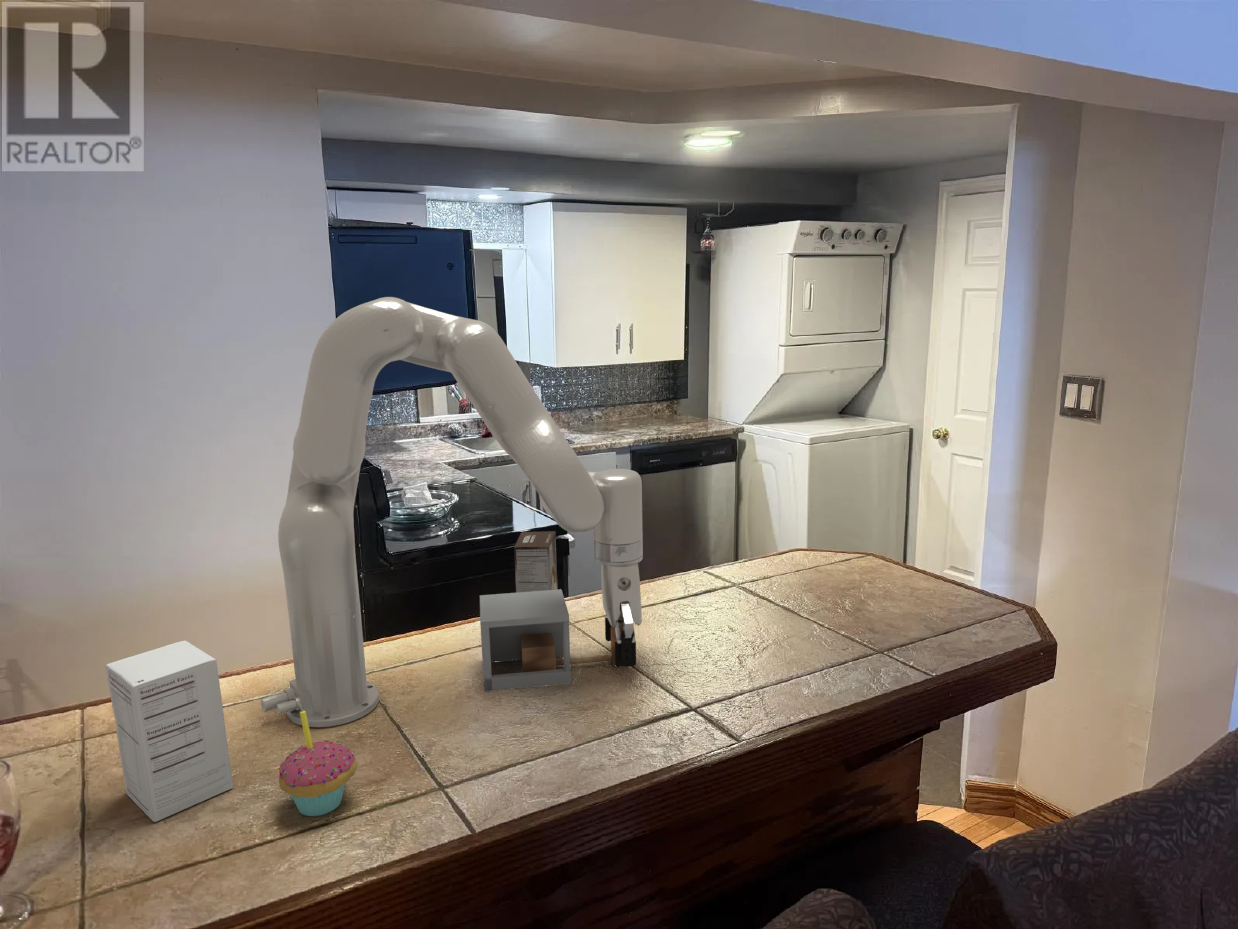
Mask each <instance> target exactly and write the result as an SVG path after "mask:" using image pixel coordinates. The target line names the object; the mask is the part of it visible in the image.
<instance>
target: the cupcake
mask: <svg viewBox="0 0 1238 929" xmlns="http://www.w3.org/2000/svg"><path fill="white" fill-rule="evenodd" d="M300 708H301V712H300V717H301V722H302V725H301V726H302V730H303V731H302V732H303V735H304V736H303V737H304V740H305V744H304V745H301V746H300V747H297V748H296V749H295V750H294V751H292V752H290V753H289V754H288V756H286V757H285V758H284V759H283V761H282V763H281V764H279V774H278V775H279V776H278V784H279V785H278V786H279V788H280V790H281V791H283V792H284V793H286V794H288V795H289V796H290V797H291V798H292V800H293V802H294V804H295V805H296V807H297V810H298V812H299V813H300V814H302V815H303V816H305V817H306V816H307V817H318V816H319V817H320V816H323V815H327V814H329V813H330V812H332V811H334V810H335V809H337V808H338V807H339V806H340V804H341V802H342V799H343V794H344V789H345V787H346V783H347V782H348V780H349V779H350V778H352V777H353V776H354V775H355V774H356V771H357V766H358V761H357V758H356V756H355V752H354V751H352V750H350V748H349V747H348V746H344V745H343V744H342V743H338V742H337V741H330V740H324V741H319V740H318V741H314V742H313V741H312V736H311V732H310V731H311V730H310V727H309V725H308V721H307V716H306V711H303V709H302V705H300Z"/></svg>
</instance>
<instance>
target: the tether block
mask: <svg viewBox="0 0 1238 929" xmlns="http://www.w3.org/2000/svg"><path fill="white" fill-rule="evenodd" d="M622 631H624V629H623V628H620V635H621V632H622ZM520 642H521V660H520V662H521V671H522V672H521V673H523V672H534V671H545V670H556V669H557V668H556V667H561V666H564V661H563V658H559V659H556V657H555V645H554V640H553V636H552V633H544V634H532V635H521V636H520ZM615 642H617V640H616V632H615V627H613V626H611V641H610V650H611V651H610V653H611V654H602V655H592V656H591V655H590V656H580V657H579V656H578V657H570V666H573V665H581V664H582V665H583V664H591V663H604V662H612V663H611V665H612V664H614V665H615ZM614 665H613V666H614Z"/></svg>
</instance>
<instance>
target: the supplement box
mask: <svg viewBox="0 0 1238 929" xmlns="http://www.w3.org/2000/svg"><path fill="white" fill-rule="evenodd" d="M218 668H219V667H218V662H217V659H216V658H214V657H213V656H211V655H209V654H207V652H205V651H203V650H201V649H200V648H198V647H197V646H195V645H193V644H192V643H190V642H189V641H188V640H182V641H177V642H173V643H171V644H167V645H165V646H164V645H163V646H161V647H157V648H154V649H151V650H148V651H145V652H141V653H138V654H136V655H132V656H129V657H125V658H122V659H119V660H116V661H113V662H110V663H109V662H108V663H107V664H105V671H106V676H107V682H108V689H109V694H110V700H111V706H112V711H113V712H112V713H113V716H114V722H115V726H116V736H117V743H118V748H119V751H118V752H119V756H120V762H121V766H122V767H121V768H122V774H123V782H124V787H125V792H126V795H127V796H128V797H129V798H130V799H131V800H132V801H133V802H134V803H135V805H137V806H138V807H139V809H141V810H142V811H143V812H144V813H145V815H146V816H147V817H148V818H149V819H150V820H151V821H152V822H153V823H157V822H158V821H161V820H163V819H166V818H168V817H170V816H172V815H175V814H176V813H180V812H181V811H185V809H189V808H190V807H192V806H195V805H198V804H200V803H202V802H204V801H207V800H208V799H211V798H213V797H215V796H217V795H220V794H221V793H222V794H223V793H224V792H226V791H229V790H231V789H233V788H234V781H233V775H232V766H231V759H230V754H229V752H230V751H229V745H228V737H227V730H226V722H225V714H224V708H223V707H224V706H223V701H222V700H223V699H222V692H221V687H220V686H221V685H220V677H219V671H218Z"/></svg>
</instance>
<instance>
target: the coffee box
mask: <svg viewBox="0 0 1238 929" xmlns="http://www.w3.org/2000/svg"><path fill="white" fill-rule="evenodd" d="M556 542H557V539H556V531H555V530H553V531H550V530H549V531H523V532H520V534H519V537H518V538H517V540H516V543H515V544H514V547H513V550H514V551H513V553H514V555H513V556H514V570H515V572H514V573H515V574H514V575H515V593H519V592H532V591H545V590H558V572H557V570H558V569H557V568H558V567H557V547H556V546H557V543H556Z"/></svg>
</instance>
